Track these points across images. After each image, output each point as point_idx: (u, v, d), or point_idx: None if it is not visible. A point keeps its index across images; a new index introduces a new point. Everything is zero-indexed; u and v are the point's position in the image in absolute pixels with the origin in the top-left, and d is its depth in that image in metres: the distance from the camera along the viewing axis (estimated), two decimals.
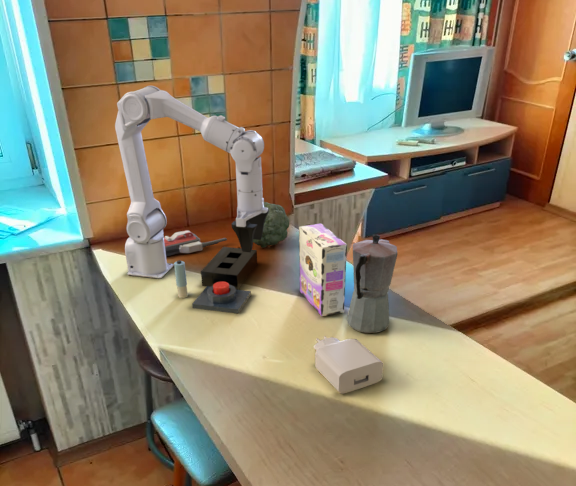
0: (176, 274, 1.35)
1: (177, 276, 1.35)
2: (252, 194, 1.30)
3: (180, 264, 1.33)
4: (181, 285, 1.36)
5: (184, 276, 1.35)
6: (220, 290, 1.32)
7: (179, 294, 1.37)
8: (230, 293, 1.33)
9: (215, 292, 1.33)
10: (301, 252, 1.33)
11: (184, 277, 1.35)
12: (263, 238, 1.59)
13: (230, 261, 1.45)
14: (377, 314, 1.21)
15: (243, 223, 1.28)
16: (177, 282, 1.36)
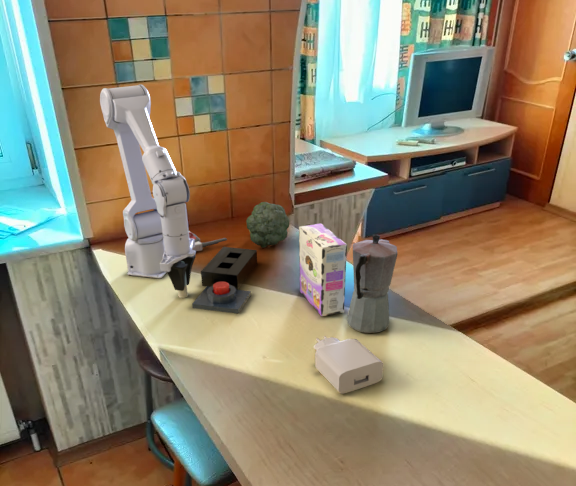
0: None
1: None
2: (177, 238, 1.28)
3: None
4: None
5: None
6: (220, 290, 1.32)
7: (179, 294, 1.37)
8: (230, 293, 1.33)
9: (215, 292, 1.33)
10: (301, 252, 1.33)
11: None
12: (263, 238, 1.59)
13: (230, 261, 1.45)
14: (377, 314, 1.21)
15: (167, 268, 1.27)
16: None
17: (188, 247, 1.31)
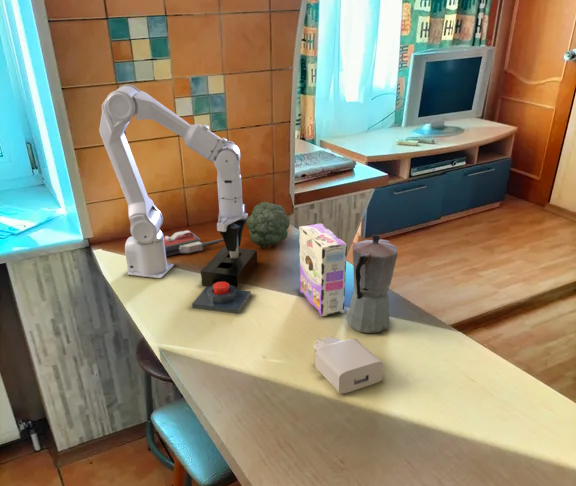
0: None
1: None
2: (232, 201, 1.39)
3: None
4: None
5: None
6: (220, 290, 1.32)
7: (231, 255, 1.48)
8: (230, 293, 1.33)
9: (215, 292, 1.33)
10: (301, 252, 1.33)
11: None
12: (263, 238, 1.59)
13: (230, 261, 1.45)
14: (377, 314, 1.21)
15: (223, 228, 1.37)
16: None
17: (241, 210, 1.42)
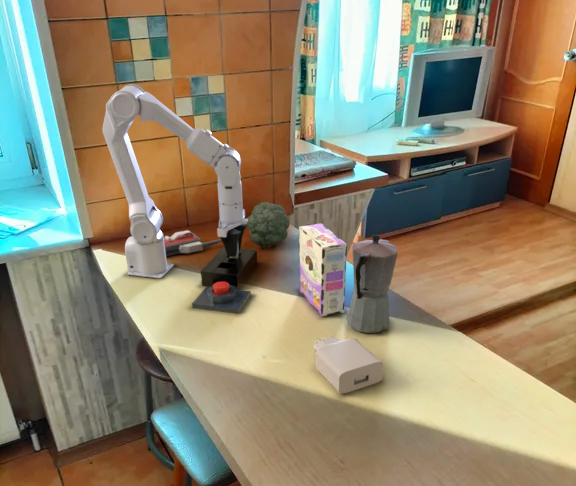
0: None
1: None
2: (232, 207, 1.39)
3: None
4: None
5: (237, 243, 1.46)
6: (220, 290, 1.32)
7: None
8: (230, 293, 1.33)
9: (215, 292, 1.33)
10: (301, 252, 1.33)
11: (237, 244, 1.46)
12: (263, 238, 1.59)
13: (230, 261, 1.45)
14: (377, 314, 1.21)
15: (224, 234, 1.38)
16: None
17: (241, 215, 1.42)
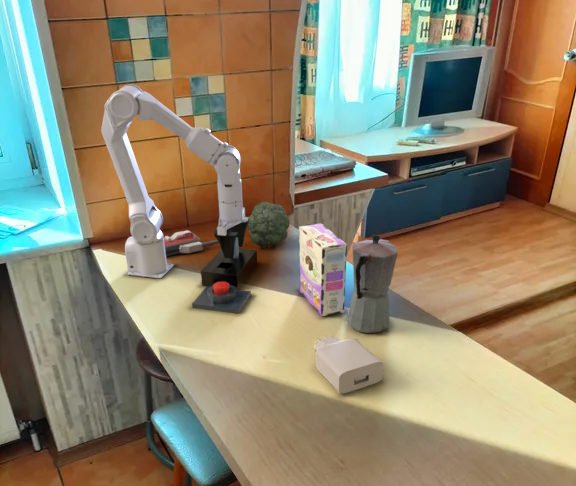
0: None
1: None
2: (232, 205, 1.39)
3: None
4: None
5: (237, 251, 1.47)
6: (220, 290, 1.32)
7: None
8: (230, 293, 1.33)
9: (215, 292, 1.33)
10: (301, 252, 1.33)
11: (237, 252, 1.47)
12: (263, 238, 1.59)
13: (230, 261, 1.45)
14: (377, 314, 1.21)
15: (224, 232, 1.38)
16: None
17: (241, 214, 1.42)
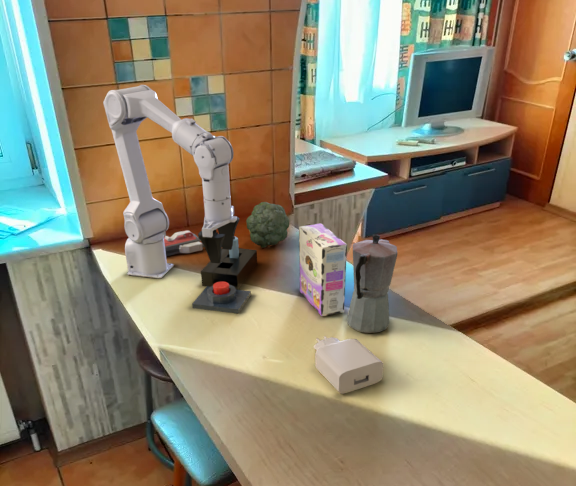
0: None
1: (231, 251, 1.47)
2: (219, 203, 1.24)
3: (234, 239, 1.46)
4: None
5: (237, 251, 1.47)
6: (220, 290, 1.32)
7: None
8: (230, 293, 1.33)
9: (215, 292, 1.33)
10: (301, 252, 1.33)
11: (237, 252, 1.47)
12: (263, 238, 1.59)
13: (230, 261, 1.45)
14: (377, 314, 1.21)
15: (209, 233, 1.22)
16: (230, 256, 1.48)
17: (230, 213, 1.27)
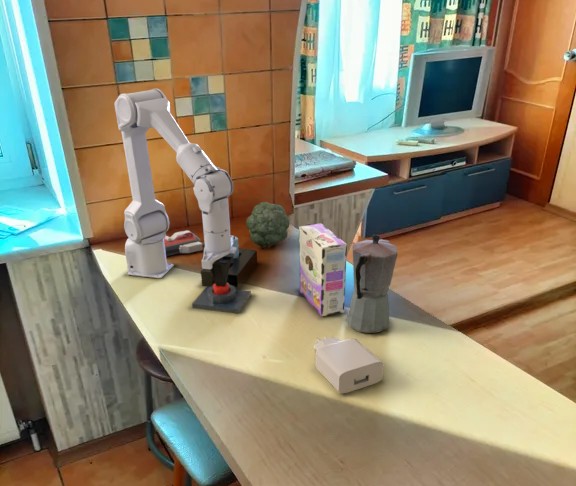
0: None
1: None
2: (219, 235, 1.24)
3: (234, 239, 1.46)
4: None
5: (237, 251, 1.47)
6: (220, 291, 1.32)
7: None
8: (230, 293, 1.33)
9: (215, 292, 1.33)
10: (301, 252, 1.33)
11: (237, 252, 1.47)
12: (263, 238, 1.59)
13: None
14: (377, 314, 1.21)
15: (209, 265, 1.23)
16: None
17: (229, 244, 1.27)
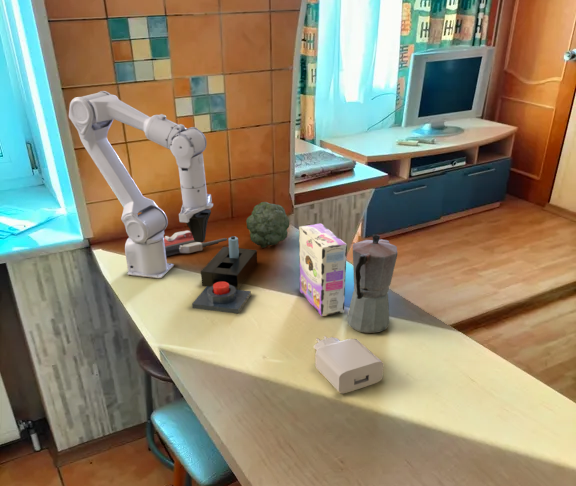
0: (230, 249, 1.47)
1: (231, 251, 1.47)
2: (195, 190, 1.31)
3: (234, 239, 1.46)
4: None
5: (237, 251, 1.47)
6: (220, 290, 1.32)
7: None
8: (230, 293, 1.33)
9: (215, 292, 1.33)
10: (301, 252, 1.33)
11: (237, 252, 1.47)
12: (263, 238, 1.59)
13: (230, 261, 1.45)
14: (377, 314, 1.21)
15: (186, 219, 1.30)
16: (230, 256, 1.48)
17: (205, 200, 1.34)
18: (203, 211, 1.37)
